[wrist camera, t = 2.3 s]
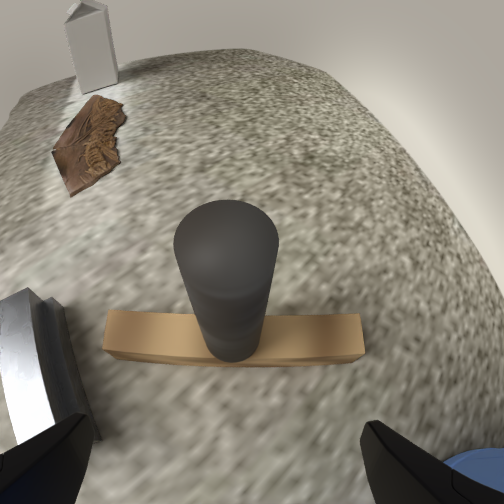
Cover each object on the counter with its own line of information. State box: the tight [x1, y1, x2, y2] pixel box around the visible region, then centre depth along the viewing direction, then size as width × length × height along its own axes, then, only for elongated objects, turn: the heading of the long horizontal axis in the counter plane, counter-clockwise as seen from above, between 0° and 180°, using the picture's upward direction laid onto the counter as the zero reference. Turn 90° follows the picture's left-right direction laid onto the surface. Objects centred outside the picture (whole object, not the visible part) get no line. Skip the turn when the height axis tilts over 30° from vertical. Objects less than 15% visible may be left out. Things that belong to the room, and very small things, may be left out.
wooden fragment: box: [51, 95, 126, 197], centre depth 36 cm, size 26×11×1 cm, turn 14°
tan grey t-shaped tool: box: [102, 200, 365, 367], centre depth 16 cm, size 18×4×14 cm, turn 90°
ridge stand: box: [0, 287, 102, 445], centre depth 17 cm, size 12×6×4 cm, turn 27°
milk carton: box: [64, 0, 118, 94], centre depth 38 cm, size 7×7×19 cm
